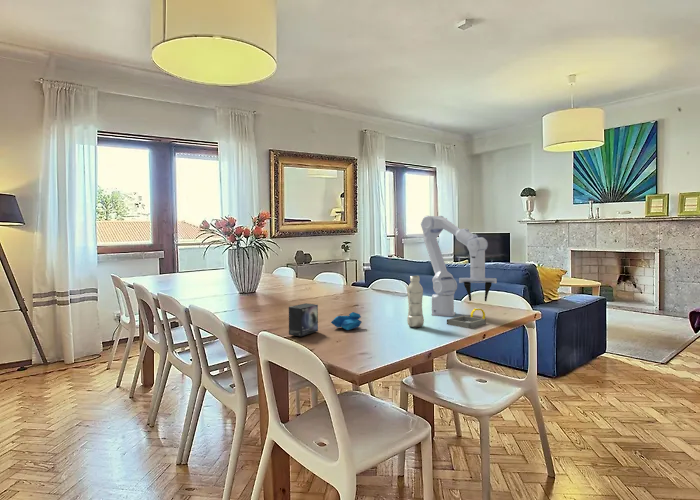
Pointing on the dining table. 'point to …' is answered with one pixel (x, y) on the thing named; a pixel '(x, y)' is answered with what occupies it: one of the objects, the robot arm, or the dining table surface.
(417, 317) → the plastic bottle
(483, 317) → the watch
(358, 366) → the dining table surface
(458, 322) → the box
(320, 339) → the dining table surface
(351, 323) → the crystal
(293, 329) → the small box
